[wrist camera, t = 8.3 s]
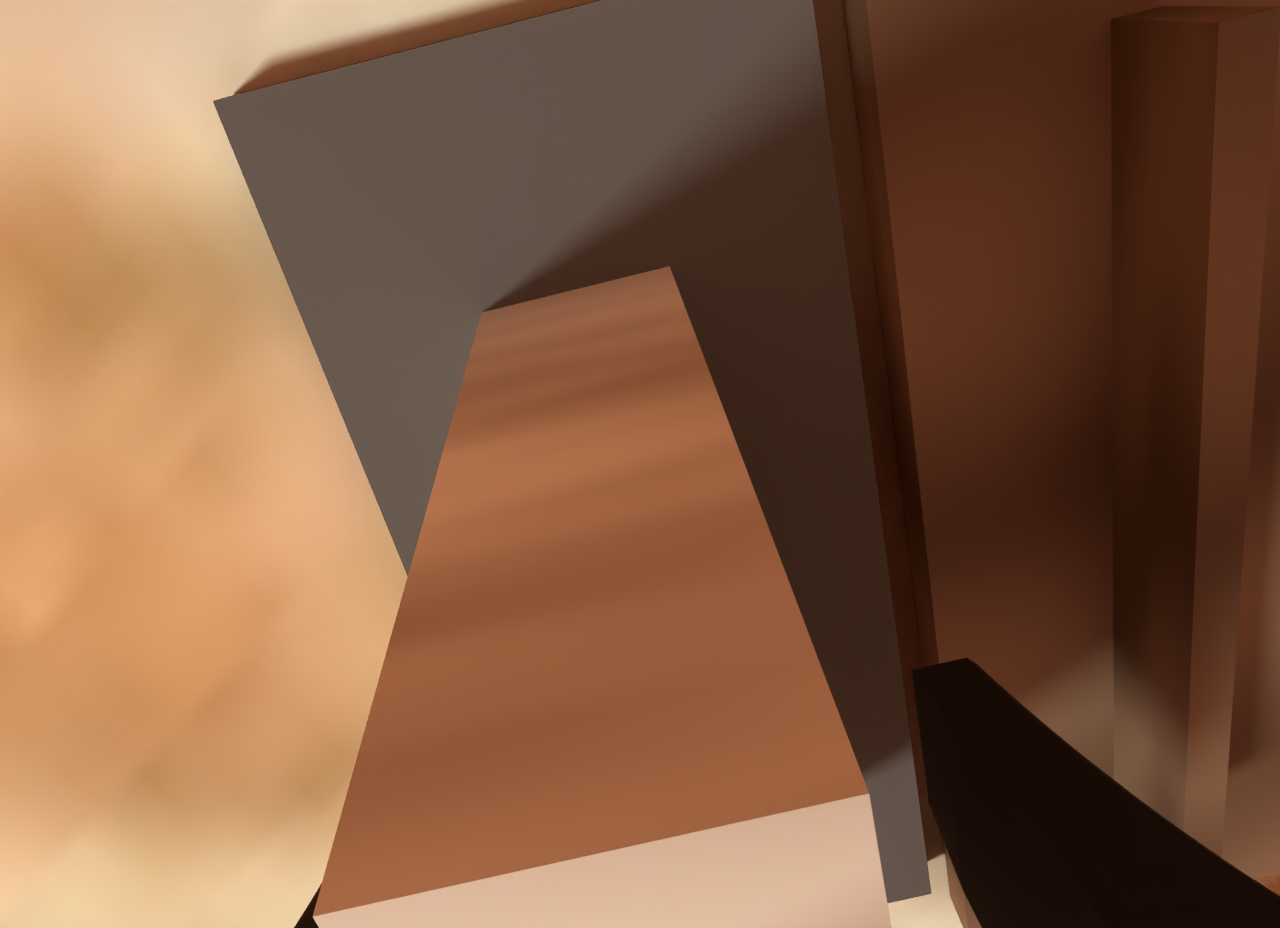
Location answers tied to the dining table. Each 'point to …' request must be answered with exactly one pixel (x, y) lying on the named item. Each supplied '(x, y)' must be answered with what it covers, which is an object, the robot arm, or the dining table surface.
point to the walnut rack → (1092, 374)
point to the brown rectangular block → (600, 662)
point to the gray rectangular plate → (606, 275)
